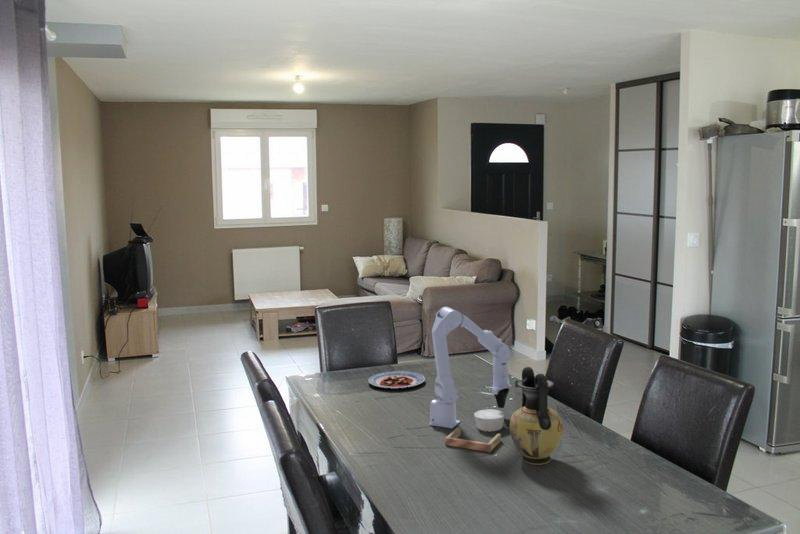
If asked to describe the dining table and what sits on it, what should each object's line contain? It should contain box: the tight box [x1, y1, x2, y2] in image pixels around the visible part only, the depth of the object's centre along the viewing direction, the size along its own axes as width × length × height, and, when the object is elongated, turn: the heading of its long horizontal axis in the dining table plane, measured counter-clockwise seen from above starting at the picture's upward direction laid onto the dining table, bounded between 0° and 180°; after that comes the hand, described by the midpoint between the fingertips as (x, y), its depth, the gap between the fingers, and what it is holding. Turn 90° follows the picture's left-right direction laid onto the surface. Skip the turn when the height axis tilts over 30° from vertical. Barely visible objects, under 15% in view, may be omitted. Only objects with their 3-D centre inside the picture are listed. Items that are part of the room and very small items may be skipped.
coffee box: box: [514, 379, 522, 412], centre depth 257 cm, size 9×6×16 cm
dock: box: [444, 427, 502, 453], centre depth 242 cm, size 16×11×2 cm
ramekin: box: [473, 408, 506, 433], centre depth 256 cm, size 11×11×5 cm
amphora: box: [509, 366, 564, 466], centre depth 225 cm, size 18×17×30 cm
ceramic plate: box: [367, 370, 426, 390], centre depth 316 cm, size 26×26×3 cm
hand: (501, 407), depth 268 cm, fingers closed
